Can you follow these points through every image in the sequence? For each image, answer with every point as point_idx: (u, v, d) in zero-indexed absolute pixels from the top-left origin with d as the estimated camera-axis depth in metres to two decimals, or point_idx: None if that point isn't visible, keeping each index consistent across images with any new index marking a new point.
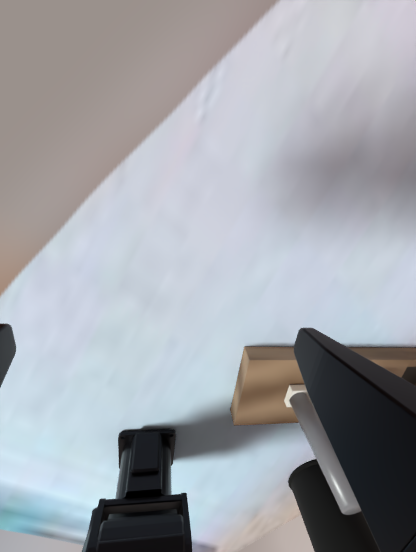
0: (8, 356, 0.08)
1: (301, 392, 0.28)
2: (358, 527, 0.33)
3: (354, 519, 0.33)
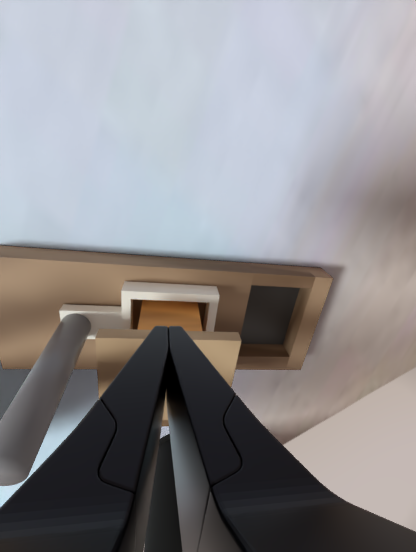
0: None
1: (74, 313, 0.19)
2: None
3: None
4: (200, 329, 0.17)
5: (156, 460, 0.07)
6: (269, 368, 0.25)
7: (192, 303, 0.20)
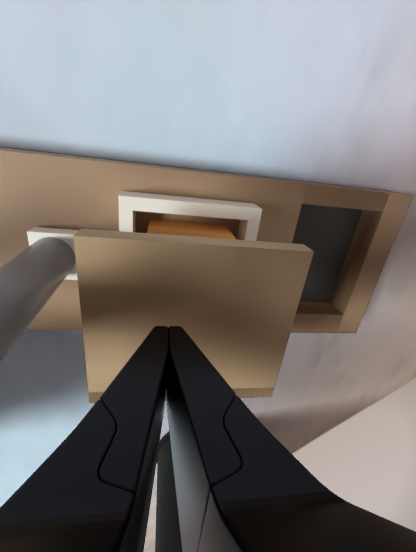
0: None
1: (50, 236, 0.13)
2: None
3: None
4: None
5: (156, 460, 0.07)
6: (316, 331, 0.19)
7: (220, 227, 0.14)
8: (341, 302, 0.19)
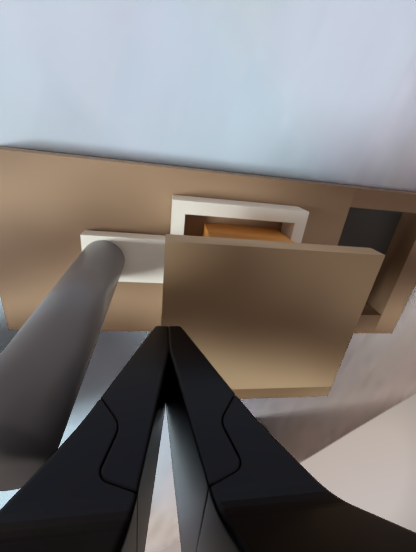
0: None
1: (102, 239, 0.13)
2: None
3: None
4: None
5: (157, 460, 0.07)
6: (354, 331, 0.19)
7: (272, 230, 0.14)
8: (378, 303, 0.19)
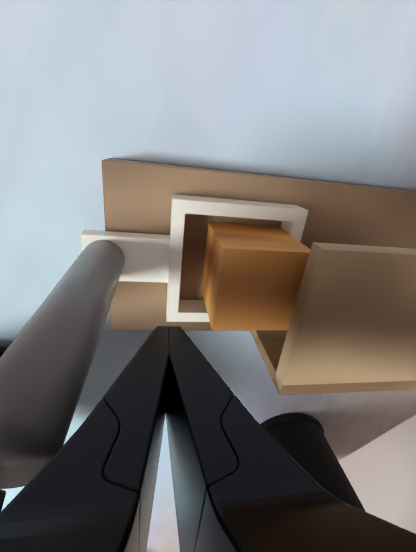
0: None
1: (103, 239, 0.13)
2: None
3: None
4: (309, 250, 0.12)
5: (158, 460, 0.07)
6: None
7: (276, 229, 0.14)
8: None
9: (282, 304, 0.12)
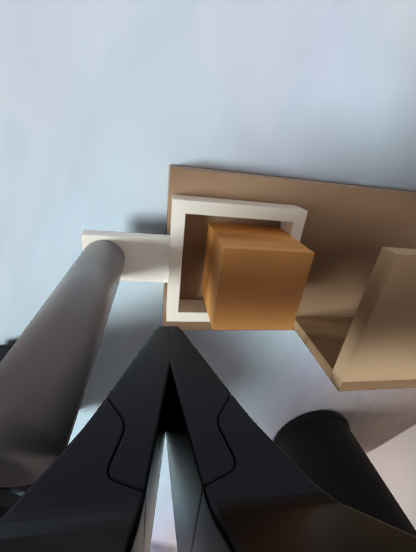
0: None
1: (103, 239, 0.13)
2: (384, 509, 0.19)
3: (376, 496, 0.20)
4: (308, 250, 0.12)
5: (161, 460, 0.07)
6: None
7: (276, 229, 0.15)
8: None
9: (282, 303, 0.13)
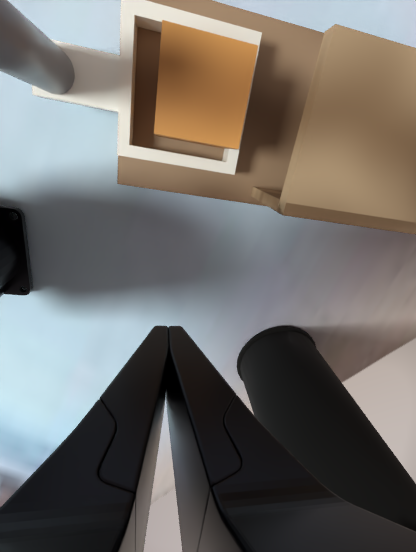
0: None
1: None
2: (338, 396, 0.19)
3: (332, 387, 0.20)
4: None
5: (156, 460, 0.07)
6: None
7: None
8: None
9: (226, 110, 0.12)
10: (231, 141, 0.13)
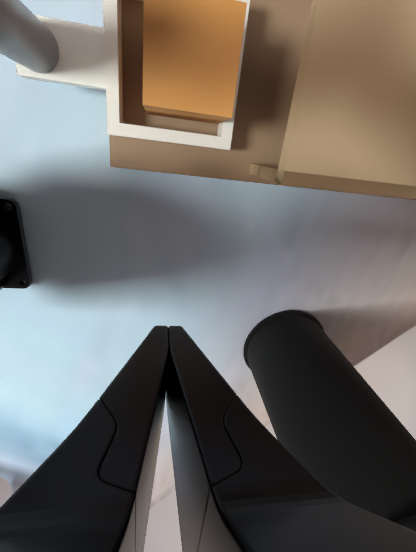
0: None
1: None
2: (348, 377, 0.18)
3: (341, 368, 0.19)
4: None
5: (156, 460, 0.07)
6: None
7: None
8: None
9: (217, 76, 0.12)
10: (224, 109, 0.12)
